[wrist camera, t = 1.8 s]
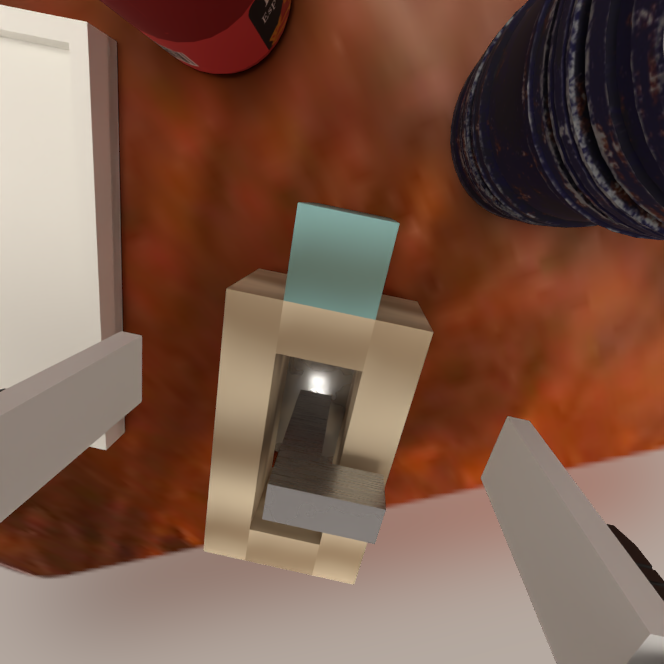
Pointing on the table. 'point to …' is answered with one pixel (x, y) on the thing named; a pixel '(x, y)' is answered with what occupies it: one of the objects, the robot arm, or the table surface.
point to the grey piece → (320, 460)
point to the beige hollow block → (320, 346)
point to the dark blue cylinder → (568, 117)
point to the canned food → (209, 29)
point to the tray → (57, 194)
